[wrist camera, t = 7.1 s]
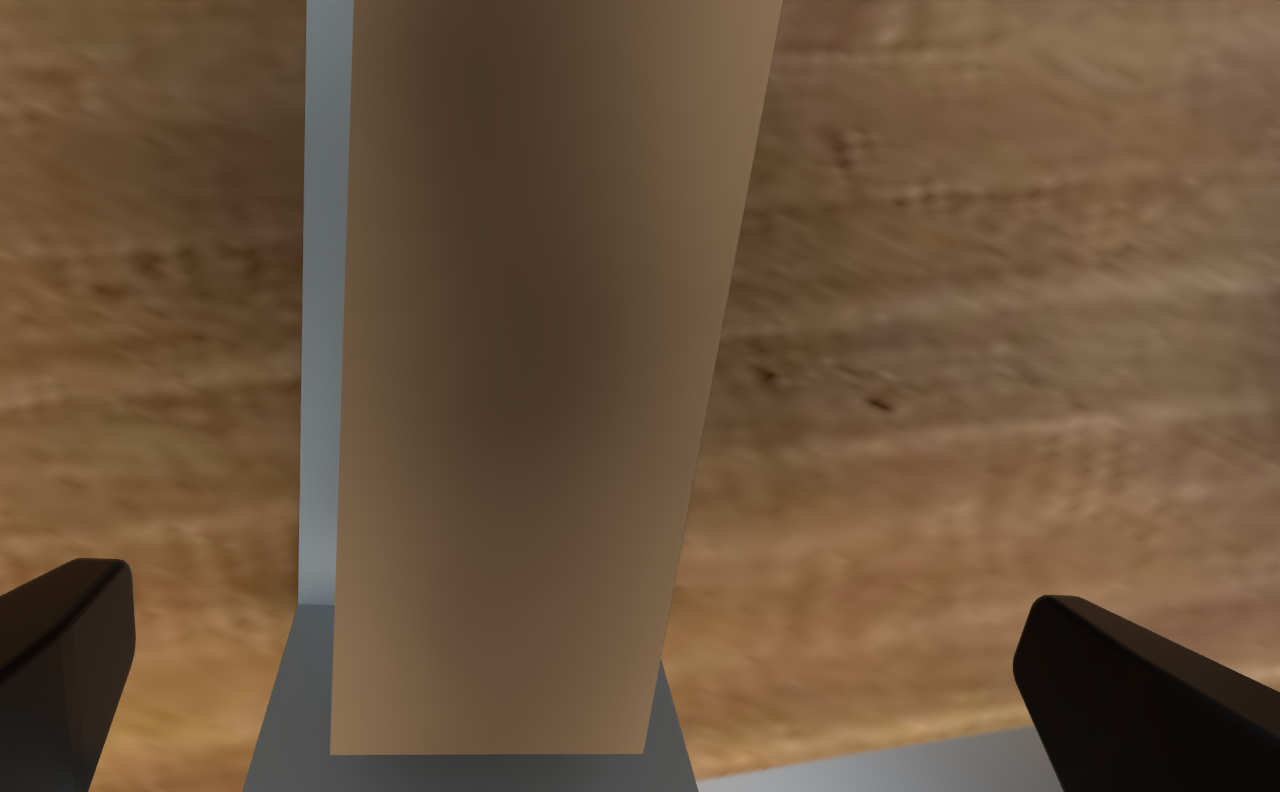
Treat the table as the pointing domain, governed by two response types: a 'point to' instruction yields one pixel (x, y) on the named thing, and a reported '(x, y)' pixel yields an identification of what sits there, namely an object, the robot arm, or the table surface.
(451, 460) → the shelf block
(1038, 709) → the robot arm
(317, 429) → the peg rack
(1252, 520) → the table surface
